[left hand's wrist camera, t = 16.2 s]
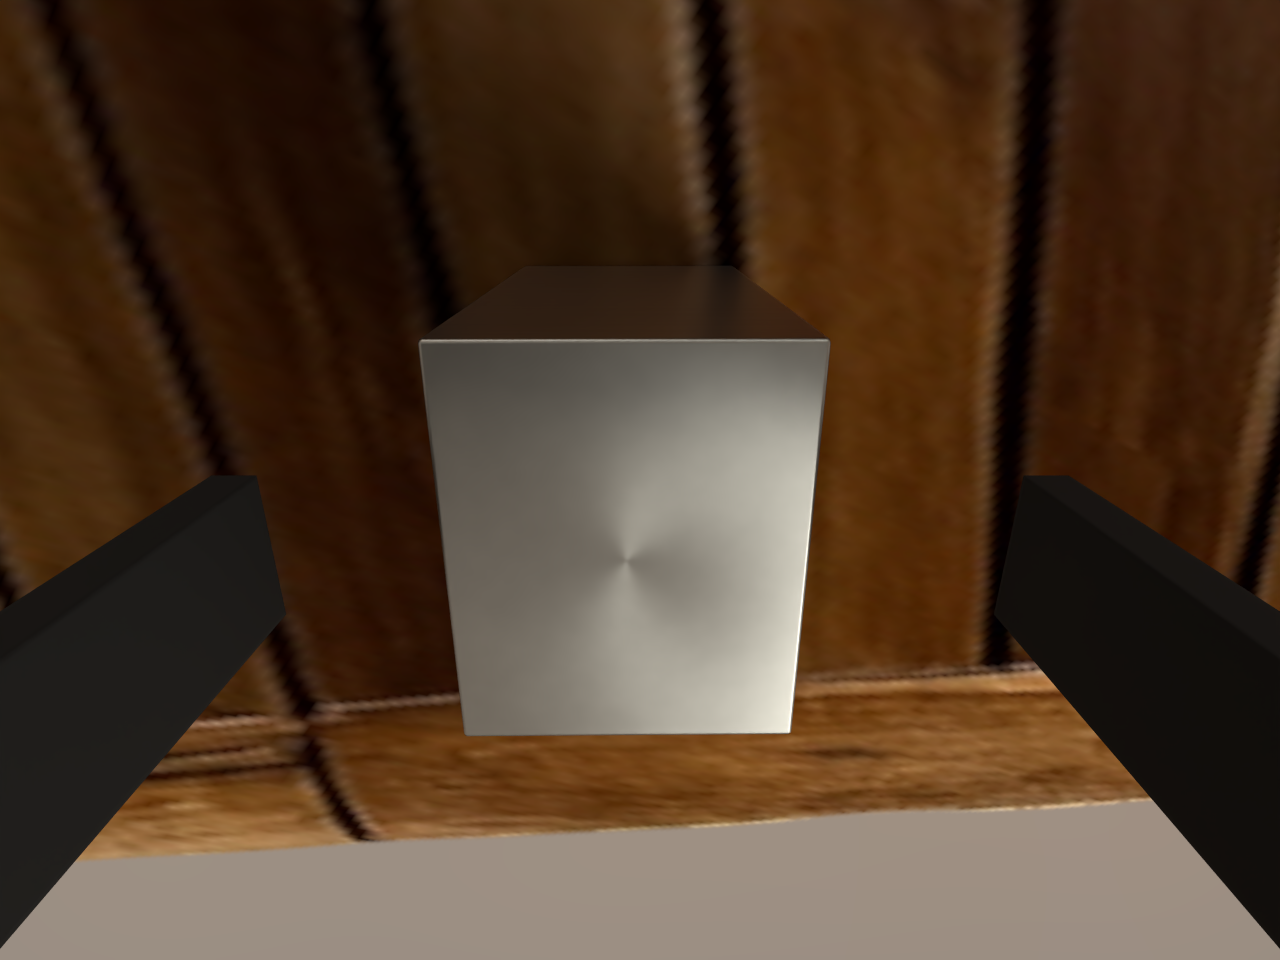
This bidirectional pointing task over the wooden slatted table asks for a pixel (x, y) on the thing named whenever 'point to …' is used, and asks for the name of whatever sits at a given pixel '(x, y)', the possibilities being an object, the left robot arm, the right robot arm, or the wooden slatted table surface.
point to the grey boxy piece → (625, 499)
